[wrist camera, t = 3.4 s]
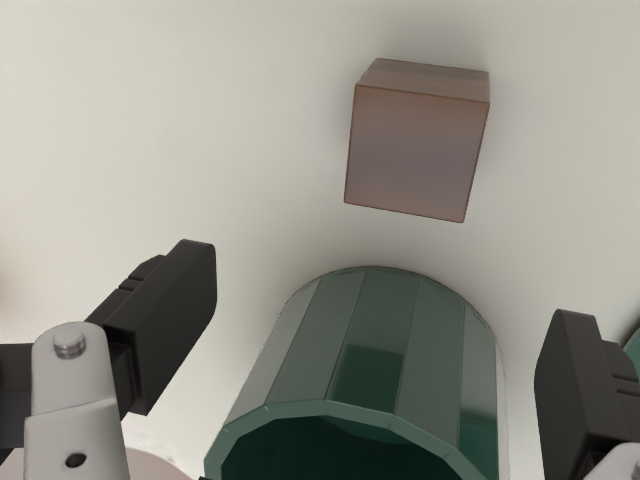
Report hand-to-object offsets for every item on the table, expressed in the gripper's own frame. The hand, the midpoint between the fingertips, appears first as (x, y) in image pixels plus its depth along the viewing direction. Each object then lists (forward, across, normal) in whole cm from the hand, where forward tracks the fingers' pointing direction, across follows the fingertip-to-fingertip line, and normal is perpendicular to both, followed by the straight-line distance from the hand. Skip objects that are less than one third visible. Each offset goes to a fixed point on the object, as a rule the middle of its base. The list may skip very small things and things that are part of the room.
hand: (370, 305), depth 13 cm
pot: (+13, 0, +13) cm, 19 cm away
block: (+13, 0, -1) cm, 13 cm away
